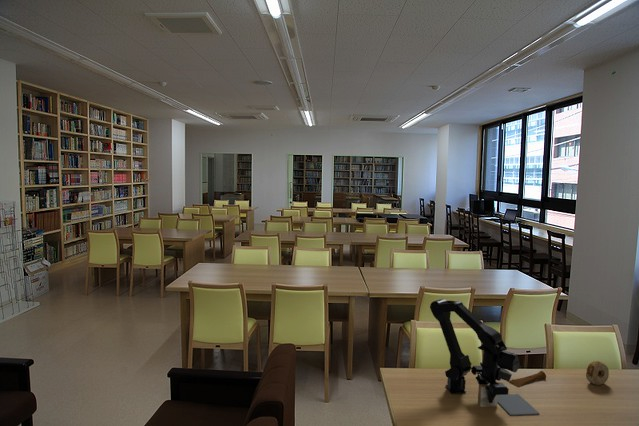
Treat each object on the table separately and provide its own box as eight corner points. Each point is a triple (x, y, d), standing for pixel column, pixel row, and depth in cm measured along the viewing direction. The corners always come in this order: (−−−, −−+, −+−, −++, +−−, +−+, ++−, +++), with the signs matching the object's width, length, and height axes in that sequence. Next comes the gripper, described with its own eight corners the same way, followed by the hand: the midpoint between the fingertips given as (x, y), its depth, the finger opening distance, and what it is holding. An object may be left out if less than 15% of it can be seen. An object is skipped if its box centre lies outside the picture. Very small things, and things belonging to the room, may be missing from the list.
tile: (480, 406, 164) (481, 387, 164) (477, 403, 167) (478, 384, 166) (497, 406, 165) (498, 387, 164) (493, 402, 168) (495, 383, 167)
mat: (510, 415, 159) (510, 414, 159) (491, 396, 173) (491, 395, 172) (539, 414, 160) (539, 413, 160) (518, 395, 174) (518, 394, 174)
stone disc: (591, 386, 182) (592, 365, 181) (583, 382, 186) (585, 361, 185) (609, 384, 185) (611, 363, 184) (602, 380, 188) (604, 359, 188)
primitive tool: (517, 388, 180) (518, 380, 180) (507, 382, 185) (507, 375, 185) (547, 380, 189) (547, 372, 188) (536, 374, 193) (536, 367, 193)
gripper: (523, 373, 156) (520, 412, 158) (496, 352, 175) (494, 387, 176) (495, 374, 155) (492, 413, 156) (471, 352, 173) (469, 388, 175)
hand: (487, 399), depth 166 cm, fingers open, 4 cm apart
